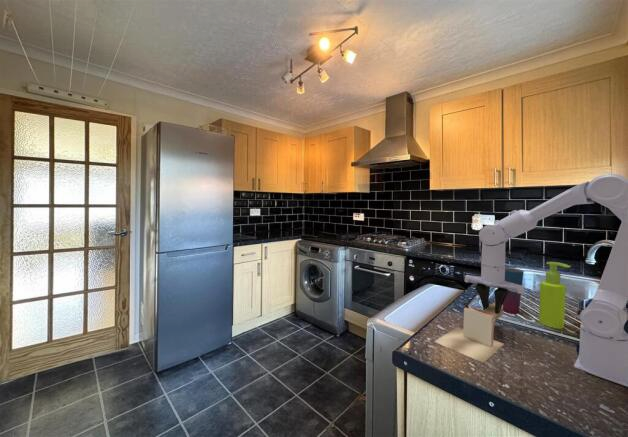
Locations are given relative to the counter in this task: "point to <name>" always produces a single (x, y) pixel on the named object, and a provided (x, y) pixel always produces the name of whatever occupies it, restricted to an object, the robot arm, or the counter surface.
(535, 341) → the counter surface
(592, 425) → the counter surface
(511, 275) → the cup
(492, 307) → the turner
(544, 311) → the soap dispenser
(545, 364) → the counter surface
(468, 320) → the tile
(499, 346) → the cork mat
